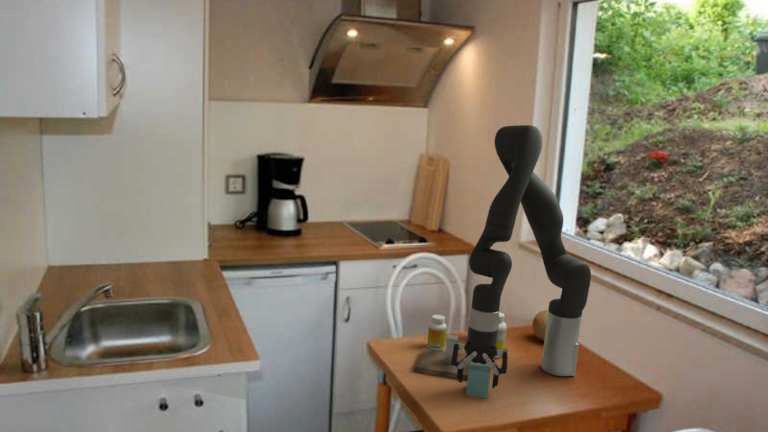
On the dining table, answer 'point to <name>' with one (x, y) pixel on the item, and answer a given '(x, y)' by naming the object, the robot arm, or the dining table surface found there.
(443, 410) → the dining table surface
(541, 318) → the onion
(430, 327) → the supplement bottle
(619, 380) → the dining table surface
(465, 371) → the post board
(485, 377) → the aqua rectangular box
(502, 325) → the supplement bottle
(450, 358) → the post
